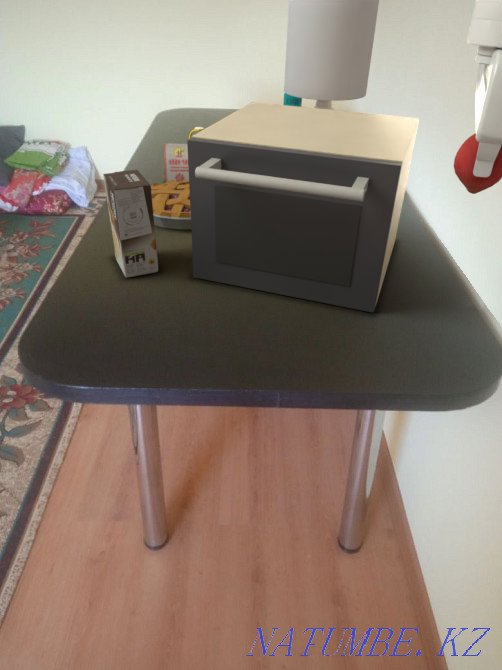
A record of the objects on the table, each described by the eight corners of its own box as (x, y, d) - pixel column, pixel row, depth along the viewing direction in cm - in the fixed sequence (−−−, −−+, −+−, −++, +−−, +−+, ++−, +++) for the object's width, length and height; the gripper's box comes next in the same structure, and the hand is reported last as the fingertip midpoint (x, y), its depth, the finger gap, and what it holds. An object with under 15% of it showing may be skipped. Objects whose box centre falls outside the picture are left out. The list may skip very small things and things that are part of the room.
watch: (188, 148, 159) (187, 128, 155) (191, 145, 161) (190, 125, 158) (206, 150, 158) (206, 129, 154) (209, 147, 160) (209, 127, 156)
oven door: (367, 332, 79) (396, 178, 65) (179, 292, 87) (169, 149, 74) (375, 308, 85) (402, 162, 71) (197, 273, 93) (191, 137, 79)
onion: (491, 186, 63) (511, 116, 59) (506, 203, 58) (528, 129, 54) (443, 184, 64) (458, 115, 59) (453, 200, 59) (471, 127, 54)
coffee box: (160, 272, 93) (152, 185, 84) (125, 278, 91) (113, 190, 82) (146, 251, 100) (137, 168, 91) (113, 257, 98) (101, 172, 89)
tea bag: (167, 181, 134) (164, 141, 128) (193, 181, 134) (191, 142, 128) (166, 186, 130) (163, 145, 125) (192, 186, 131) (191, 146, 125)
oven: (375, 308, 85) (403, 161, 71) (197, 273, 93) (191, 136, 80) (395, 240, 107) (419, 118, 93) (249, 217, 115) (252, 102, 101)
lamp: (367, 162, 150) (392, -3, 127) (335, 182, 136) (356, -1, 112) (302, 149, 160) (315, -6, 137) (265, 166, 145) (272, -5, 122)
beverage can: (298, 141, 168) (301, 91, 159) (280, 140, 168) (283, 90, 160) (299, 137, 172) (303, 88, 164) (282, 136, 173) (285, 87, 164)
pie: (127, 231, 108) (124, 208, 105) (148, 194, 125) (146, 174, 123) (232, 235, 107) (232, 212, 104) (237, 197, 125) (237, 177, 122)
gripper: (567, 36, 42) (515, 199, 50) (541, 20, 58) (505, 146, 66) (485, 32, 44) (448, 191, 52) (482, 18, 60) (453, 141, 68)
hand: (480, 165), depth 59 cm, fingers closed on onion, 6 cm apart
